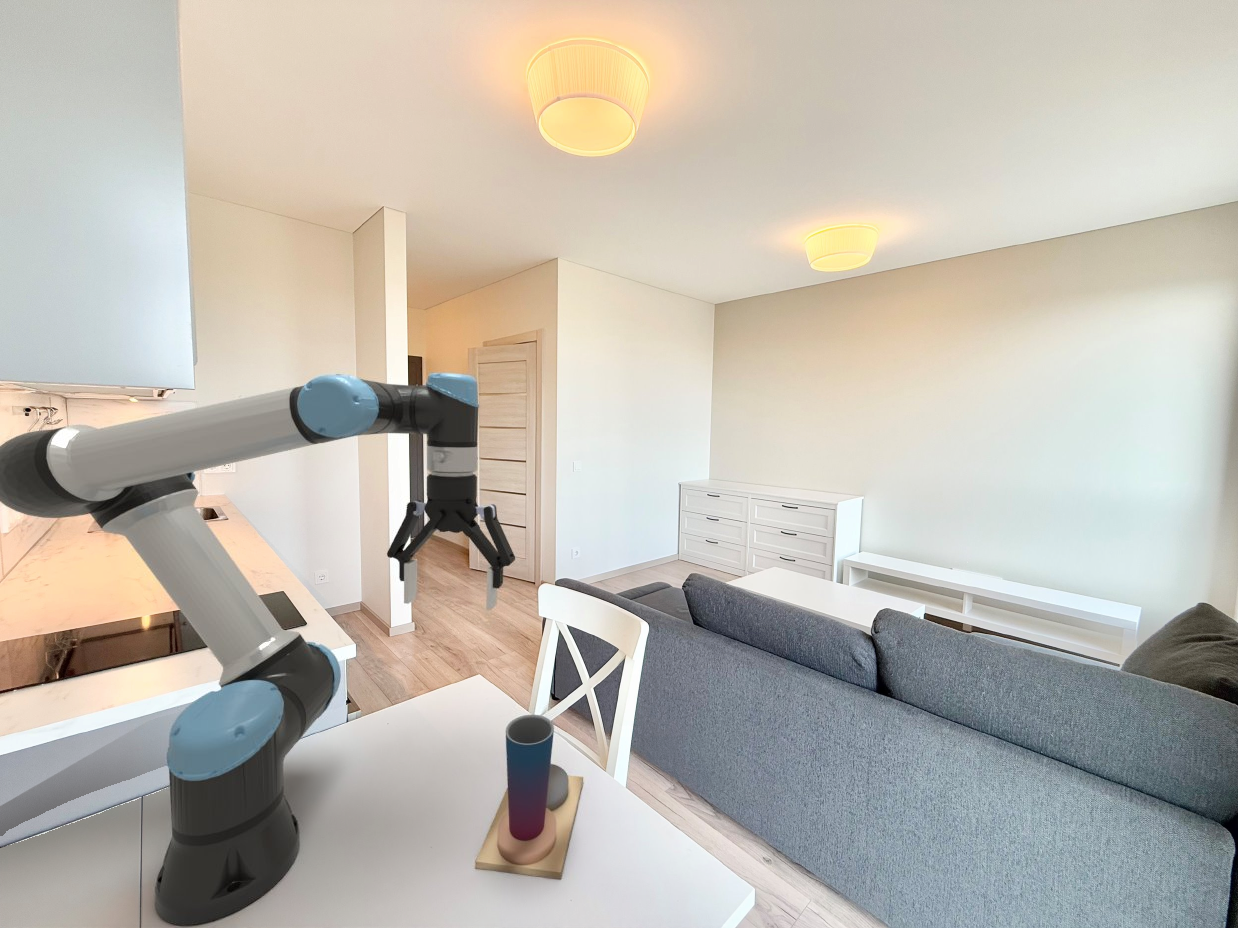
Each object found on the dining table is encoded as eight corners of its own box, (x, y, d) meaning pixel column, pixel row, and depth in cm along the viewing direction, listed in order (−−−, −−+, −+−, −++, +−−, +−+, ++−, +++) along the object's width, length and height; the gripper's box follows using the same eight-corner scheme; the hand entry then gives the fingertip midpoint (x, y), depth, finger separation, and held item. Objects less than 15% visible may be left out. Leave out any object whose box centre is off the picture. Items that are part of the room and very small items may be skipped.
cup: (494, 840, 68) (497, 739, 67) (514, 803, 75) (517, 711, 74) (540, 850, 67) (544, 748, 66) (556, 812, 74) (560, 718, 72)
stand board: (475, 867, 67) (475, 847, 67) (515, 774, 85) (515, 758, 85) (560, 878, 66) (561, 858, 66) (583, 782, 84) (583, 765, 84)
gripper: (362, 471, 74) (363, 606, 76) (522, 480, 72) (519, 618, 74) (390, 467, 82) (390, 589, 84) (536, 474, 80) (532, 600, 82)
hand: (450, 603), depth 79 cm, fingers open, 13 cm apart
